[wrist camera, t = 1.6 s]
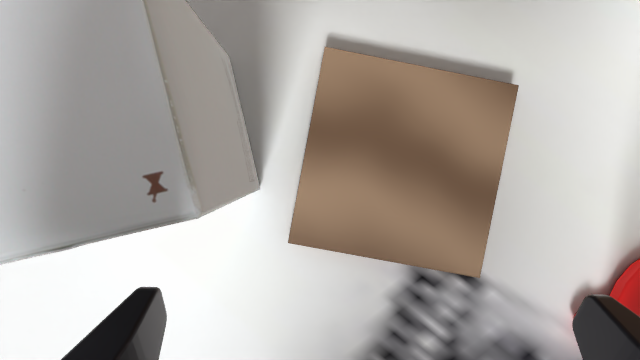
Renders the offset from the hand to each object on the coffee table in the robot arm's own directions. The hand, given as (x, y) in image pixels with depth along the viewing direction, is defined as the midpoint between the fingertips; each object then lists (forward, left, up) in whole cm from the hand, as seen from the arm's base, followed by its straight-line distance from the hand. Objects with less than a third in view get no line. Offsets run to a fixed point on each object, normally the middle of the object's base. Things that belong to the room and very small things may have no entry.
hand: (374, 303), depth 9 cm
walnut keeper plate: (+4, -1, -14) cm, 14 cm away
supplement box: (-2, +9, -14) cm, 17 cm away
